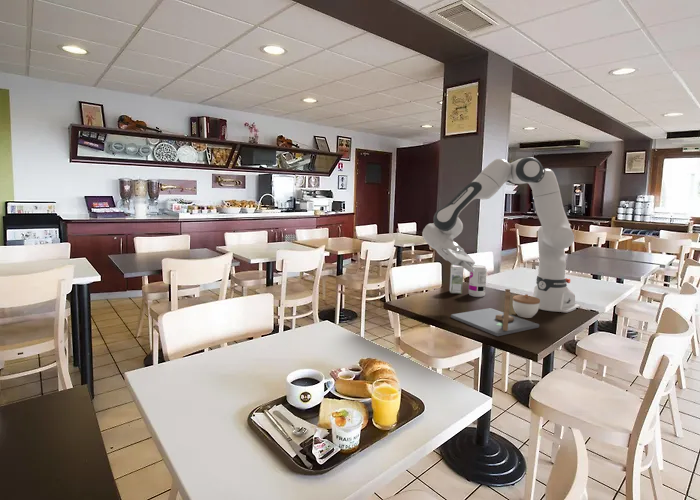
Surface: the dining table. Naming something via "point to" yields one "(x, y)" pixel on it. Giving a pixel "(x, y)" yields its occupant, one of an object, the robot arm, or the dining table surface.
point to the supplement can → (477, 281)
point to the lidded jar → (525, 305)
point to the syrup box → (456, 279)
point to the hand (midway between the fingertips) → (472, 270)
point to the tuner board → (493, 321)
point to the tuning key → (506, 311)
